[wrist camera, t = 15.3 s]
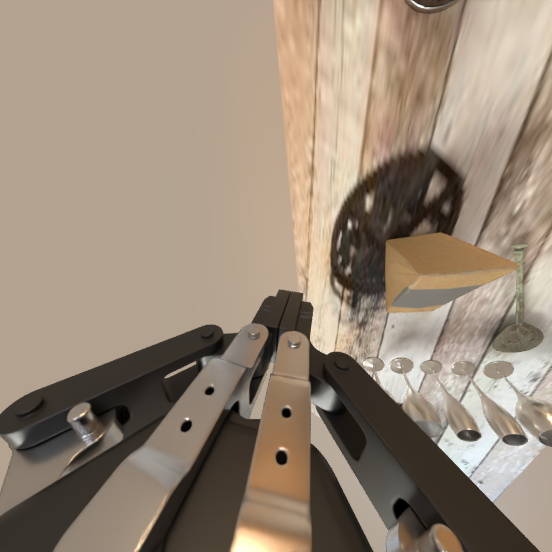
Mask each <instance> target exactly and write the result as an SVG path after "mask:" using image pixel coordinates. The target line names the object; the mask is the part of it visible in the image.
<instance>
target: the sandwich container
mask: <svg viewBox="0 0 552 552" xmlns="http://www.w3.org/2000/svg"><path fill="white" fill-rule="evenodd" d="M519 268H520V265H519V264H517V263H514V262H512V261H510V260H507V259H505V258H502V257H500V256H498V255H495V254H493V253H490V252H488V251H485V250H483V249H481V248H478V247H476V246H473V245H471V244H469V243H466V242H464V241H461V240H459V239H457V238H454V237H451V236H449V235H446V234H444V233H441V232H440V233H433V234H426V235H419V236H411V237H405V238H398V239H391V240H387V241H386V261H385V282H386V310H387V313H396V312H422V311H434V310H436V309H437V308H439V307H441V306H443V305H445V304H447V303H449V302H450V301H452V300H454V299H456V298H458V297H460V296H462V295H465V294H466V293H468V292H470V291H472V290H474V289H476V288H478V287H480V286H483V285H485V284H487V283H489V282H491V281H493V280H495V279H498V278H500V277H502V276H504V275H506V274H508V273H510V272H512V271H515V270H517V269H519Z"/></svg>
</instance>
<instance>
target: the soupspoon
mask: <svg viewBox="0 0 552 552" xmlns="http://www.w3.org/2000/svg"><path fill="white" fill-rule="evenodd" d="M527 246H528V244H520V245H513V246H511V247H510V248H514V249H515V250H514V251H513V252H514V253H515V259H516V260H517V262H516V263H517V264H519V265H520V268H519V269H517V279H516V297H517V300H516V315H515V322H514V323H513V324H511V325H509V326H508V327H507V328H505V329H504V330H503V331H502V332H501V333H500V334H499V335H498V336H497V337H496V339H495V340H494V343H493V348H494V349H495V350H497V351H502V352H522V351H527V350H530V349H532V348H534V347H536V346H538V345H539V344H540V343H541V342H542V340H543V337H544V336H543V333H542V332H541V331H540V330H539V329H538V328H536V327H534V326H532V325H530V324H527V323H524V322H523V317H524V288H523V264H524V263H525V262H524V261H523V259H524V252H525V249H523V248H524V247H527Z"/></svg>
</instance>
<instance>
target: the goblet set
mask: <svg viewBox="0 0 552 552" xmlns="http://www.w3.org/2000/svg"><path fill="white" fill-rule="evenodd" d="M363 365H364V367H365V368H366V369H367V370H369V371H373V372H375V378H376V383H377V384H378V385H379V386H380V387H381V388H382V389H383V390H384V391H385V392H386V393H387V394H388V395H389V396H390V397H391V398H392V399H393V400H394V401H395V399H394V397H393V396H392V395H391V394H390V392H389V391H387V390H386V389H385V388H384V387H383V386H382V385H381V383H380V381H379V379H378V376H377V373H376V371H380V370H382V369H383V367H384V363H383V361H382V360H380V359H378V358H368V359H366V360H365V361H364V363H363ZM390 368H391V370H392V371H394V372H396V373H403V375H404V377H405V380H406V383H407V393H406V395H405V397H404V399H403V410H404V412H405V413H406V414H407V415H408V416H409V417H410V418H411V419H412V420H413V421H414V422H415V423H416V424H417V425H418V426H419V427H420V428H421V429H422V430H423V431H424V432H425V433H426V434H427V435H428V436H429V437H430V438H432V437H437V436H439V435H441V434H442V433H443V427H442V424H441V420H440V418H439V415H438V413H437V412H436V410H435V408H434V407H433V405H432V404H431V403H430V402H429V401H428V400H427V399H426V398H425V397H424V396H422V395H421V394H419V393H418V392H416V391H415V390H414V389H413V388H412V386H411V385H410V383H409V381H408V379H407V376H406V374H405V373H407V372H410V371H411V370H412V368H413V364H412V362H411V361H410V360H408V359H405V358H397V359H394V360H392V361H391V363H390ZM420 368H421V370H422V371H423V372H425V373H428V374H434V375H435V377H436V379H437V381H438V383H439V385H440V388H441V390H442V394H443V410H444V414H445V416H446V419H447V421H448V423H449V425H450V426H451V428H452V430H453V431H454V433H455V434H456V435H457V437H458V438H459V439H461V440H463V441H469V442H473V441H477V440H479V439H480V438H481V433H480V431H479V428H478V426H477V424H476V422H475V420H474V418H473V417H472V415H471V414H470V413H469V411H468V410H467V409H466V408H465V407H464V406H463V405H462V404H461V403H460V402H459V401H457V400H456V399H455V398H454V397H452V396H451V395H450V394H449V393H448V392H447V391H446V389H445V388H444V387H443V385H442V384H441V382H440V381H439V379H438V377H437V375H436V374H435V373H437V372H439V371H440V370H441V369H442V366H441V364H440V363H439V362H437V361H433V360H429V361H425V362H423V363H422V364H421V366H420ZM474 370H475V367H474V365H473V364H471V363H469V362H458V363H456V364H454V365H453V366H452V371H453V372H454V373H455V374H457V375H467V376H468V378H469V379H470V381H471V382H472V384H473V385H474V387H475V388H476V390H477V391H478V393H479V395H480V398H481V401H482V407H483V412H484V415H485V417H486V420H487V421H488V423H489V425H490V426H491V428H492V429H493V431H494V432H495V433H496V434H497V435H498V437H499V438H500V439H501V440H502V441H503V442H504V443H506V444H508V445H513V446H519V445H524V444H526V443H527V442H528V438H527V437H526V435H525V433H524V431H523V430H522V428H521V427H520V425H519V424H518V422H517V421H516V420H515V419H514V418H513V417H512V416H511V414H509V413H508V412H507V411H506V410H505V409H504V408H502V407H501V406H500V405H498V404H497V403H495V402H494V401H492V400H491V399H490V398H488V397H487V396H486V395H485V394H484V393H483V392H482V391H481V390H480V389H479V387H478V386H477V385H476V384H475V382H474V381H473V380H472V379H471V377H470V376H469V374H471V373H472V372H473V371H474ZM513 370H514V368H513V366H512V365H511V364H509V363H507V362H501V361H498V362H492V363H489V364H488V365H486V366H485V367H484V369H483V372H484V374H485V375H486V376H487V377H490V378H495V379H500V378H504V379H505V380H506V381H507V382H508V383H509V385H510V386H511V387H512V388H513V390H514V391H515V392H516V394H517V397H518V402H517V405H516V408H515V415H516V418H517V420H518V421H519V423H520V424H521V425H522V426H523V428H524V429H525V430H527V431H528V432H529V433H530V434H531V435H532V436H534V437H535V438H536V439H537V440H539V441H540V442H541V443H543V444H544V445H547V446H551V447H552V404H550V403H548V402H545V401H542V400H538V399H534V398H531V397H528V396H526V395H525V394H523V393H522V392H520V391H519V390H518V389H517V388H516V387H515V386H514V385H513V384H512V383H511V382H510V381H509V380H508V379H507V378H506V377H507V376H509V375H511V374H512V373H513ZM395 402H396V401H395Z"/></svg>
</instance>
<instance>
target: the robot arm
mask: <svg viewBox="0 0 552 552" xmlns="http://www.w3.org/2000/svg"><path fill="white" fill-rule="evenodd" d="M458 1H460V0H405V2H406V3H407V4H408V5H409V6H410V7H411V8H412V9H414V10H415V11H418V12H421V13H436V12H439V11H442V10H445V9H447V8H449V7H451V6H452V5H454V4H455V3H457V2H458ZM302 300H303V293H299V292H291V291H286V290H279V291H278V293H277V295H276V297H274V296H269V297H267V298H266V299H265V300H264V301H263V303H262V305H261V306H260V308H259V310H258V312H257V314H256V316H255V317H254V319H253V321H252V323H251V324H248V325H246V326H244V327H243V328H242V329H241V330H240V332H239V333H231V334H223V331H222V329H221V328H220V327H219V326H216V325H205V326H202V327H199V328H197V329H194V330H191V331H189V332H186V333H184V334H181V335H179V336H176V337H173V338H171V339H168V340H165V341H163V342H160V343H158V344H155V345H152V346H150V347H147V348H145V349H142V350H140V351H137V352H134V353H132V354H129V355H127V356H124V357H121V358H119V359H116V360H114V361H111V362H108V363H106V364H104V365H101V366H98V367H95V368H93V369H90V370H88V371H85V372H82V373H80V374H77V375H75V376H72V377H69V378H67V379H64V380H62V381H59V382H56V383H54V384H51V385H49V386H46V387H43V388H41V389H38V390H36V391H34V392H31V393H29V394H27V395H25V396H23V397H22V398H20V399H18V400H17V401H15V402H14V403H13V404H11V405H10V406H9V407H8V408H6V409H5V410H4V411H3V412H2V413H1V414H0V436H1V437H2V438H3V439H4V440H5V441H6V442H7V443H8V444H9V447H10V449H11V450H12V452H13V453H12V457H11V460H10V463H9V466H8V470H7V473H6V476H5V479H4V482H3V485H2V489H1V492H0V552H373V550H372V548H371V546H370V544H369V542H368V540H367V538H366V536H365V534H364V532H363V530H362V528H361V526H360V524H359V522H358V520H357V518H356V516H355V514H354V512H353V510H352V508H351V506H350V504H349V502H348V500H347V498H346V496H345V494H344V492H343V490H342V488H341V486H340V484H339V482H338V480H337V478H336V476H335V474H334V472H333V470H332V468H331V467H330V465H329V464H328V462H327V460H326V459H325V458H324V457H323V455H322V454H321V453H320V452H319V450H318V449H317V448H316V447H315V446H314V445H312V444H311V443H310V431H311V429H310V428H311V427H310V426H311V423H310V422H311V402H312V403H314V404H315V406H316V410H317V412H318V413H319V415H320V417H321V419H322V420H323V422H324V424H325V425H326V427H327V429H328V430H329V432H330V434H331V435H332V437H333V439H334V440H335V442H336V444H337V445H338V447H339V448H340V450H341V452H342V454H343V455H344V457H345V459H346V460H347V462H348V464H349V465H350V467H351V469H352V470H353V472H354V474H355V475H356V477H357V479H358V480H359V482H360V484H361V485H362V487H363V489H364V490H365V492H366V494H367V495H368V497H369V499H370V501H371V502H372V504H373V505H374V507H375V509H376V510H377V512H378V514H379V516H380V517H381V519H382V521H383V522H384V524H385V526H386V527H387V529H388V533H387V536H386V552H540V551H539V550H538V549H537V548H536V547H535V546H534V545H533V544H532V543H531V542H530V541H529V540H528V539H527V538H526V537H525V536H524V535H523V534H522V533H521V532H520V531H519V529H518V528H517V527H515V525H514V524H513V523H512V522H511V521H510V520H509V519H508V518H507V517H506V516H505V515H504V514H503V513H502V512H501V511H500V510H499V509H498V508H497V507H496V506H495V505H494V504H493V503H492V502H491V501H490V499H489V498H488V497H487V496H486V495H485V494H484V493H483V492H482V491H481V490H480V489H479V488H478V487H477V486H476V485H475V484H474V483H473V482H472V481H471V480H470V479H469V478H468V477H467V476H466V475H465V474H464V473H463V472H462V471H461V469H460V468H459V467H458V466H457V465H456V464H455V463H454V462H453V461H452V460H451V459H450V458H449V457H448V456H447V455H446V454H445V453H444V452H443V451H442V450H441V449H440V448H439V447H438V446H437V445H436V444H435V443H434V442H433V440H432V439H431V438H430V437H429V436H428V435H427V434H426V433H425V432H424V431H423V430H422V429H421V428H420V427H419V426H418V425H417V424H416V423H415V422H414V421H413V420H412V419H411V418H410V417H409V416H408V415H407V414H406V413H405V412H404V410H403V409H402V408H401V407H400V406H399V405H398V404H397V403H396V402H395V401H394V400H393V399H392V398H391V397H390V396H389V395H388V394H387V393H386V392H385V391H384V390H383V389H382V388H381V387H380V386H379V385H378V384H377V383H376V382H375V380H374V379H373V378H372V377H371V376H370V375H369V374H368V373H367V372H366V371H365V370H364V369H363V368H362V367H361V366H360V365H359V364H358V363H357V362H356V361H355V360H354V359H353V358H352V357H351V356H349V355H347V354H345V353H342V352H331V353H329V354H328V355H326V354H324V353H322V352H320V351H318V350H317V349H316V348H314V346H313V345H312V344H311V342H310V332H311V324H312V315H313V306H312V305H311V303H310V302H304V301H302ZM195 361H196V365H194V366H192V367H190V368H188V369H186V370H183V371H181V372H179V373H177V374H175V375H173V376H171V377H169V378H164V377H165V376H166V375H168V374H170V373H172V372H174V371H176V370H178V369H180V368H182V367H184V366H186V365H188V364H190V363H192V362H195ZM270 362H273V363H274V368H273V372H272V374H271V375H270V379H269V383H268V388H267V392H266V397H265V402H264V406H263V411H262V416H261V419H250V416H251V412H252V409H253V407H254V405H255V402H256V400H257V397H258V395H259V392H260V390H261V388H262V385H263V383H264V380H265V378H266V375H267V370H268V367H269V364H270Z"/></svg>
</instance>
